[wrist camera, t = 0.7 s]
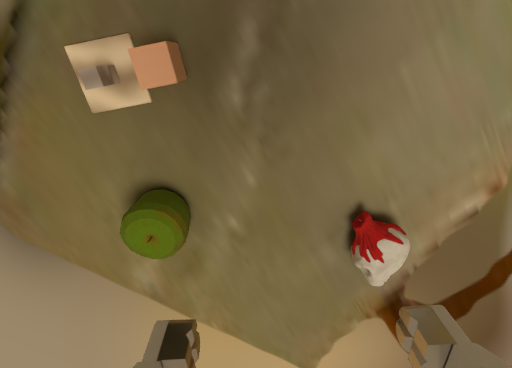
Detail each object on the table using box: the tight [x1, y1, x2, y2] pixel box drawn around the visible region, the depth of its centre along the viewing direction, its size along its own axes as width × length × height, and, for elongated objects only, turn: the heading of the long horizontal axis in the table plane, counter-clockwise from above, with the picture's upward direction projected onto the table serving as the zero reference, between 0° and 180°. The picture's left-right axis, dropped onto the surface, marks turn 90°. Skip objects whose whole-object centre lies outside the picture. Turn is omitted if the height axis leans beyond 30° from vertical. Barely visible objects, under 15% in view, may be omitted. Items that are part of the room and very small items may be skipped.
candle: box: [351, 211, 410, 287], centre depth 54 cm, size 9×11×15 cm
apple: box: [120, 189, 191, 259], centre depth 49 cm, size 11×11×11 cm
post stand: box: [64, 33, 153, 113], centre depth 41 cm, size 10×10×6 cm
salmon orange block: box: [127, 41, 187, 90], centre depth 40 cm, size 5×5×7 cm
